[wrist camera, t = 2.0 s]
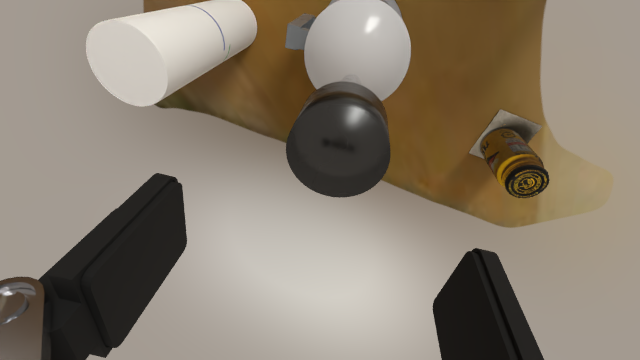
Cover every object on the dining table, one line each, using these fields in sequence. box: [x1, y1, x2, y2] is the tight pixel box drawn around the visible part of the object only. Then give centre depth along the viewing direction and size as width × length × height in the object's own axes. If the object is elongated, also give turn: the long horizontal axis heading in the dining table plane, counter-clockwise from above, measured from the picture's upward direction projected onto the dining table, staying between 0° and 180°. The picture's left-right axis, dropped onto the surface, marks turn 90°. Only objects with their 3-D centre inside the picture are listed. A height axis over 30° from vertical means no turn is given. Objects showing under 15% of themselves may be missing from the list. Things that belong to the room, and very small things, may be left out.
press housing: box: [285, 0, 411, 101], centre depth 38 cm, size 14×12×16 cm
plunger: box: [286, 74, 390, 197], centre depth 20 cm, size 5×5×11 cm
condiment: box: [469, 109, 549, 198], centre depth 46 cm, size 7×8×12 cm
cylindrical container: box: [86, 0, 257, 106], centre depth 37 cm, size 7×7×25 cm
